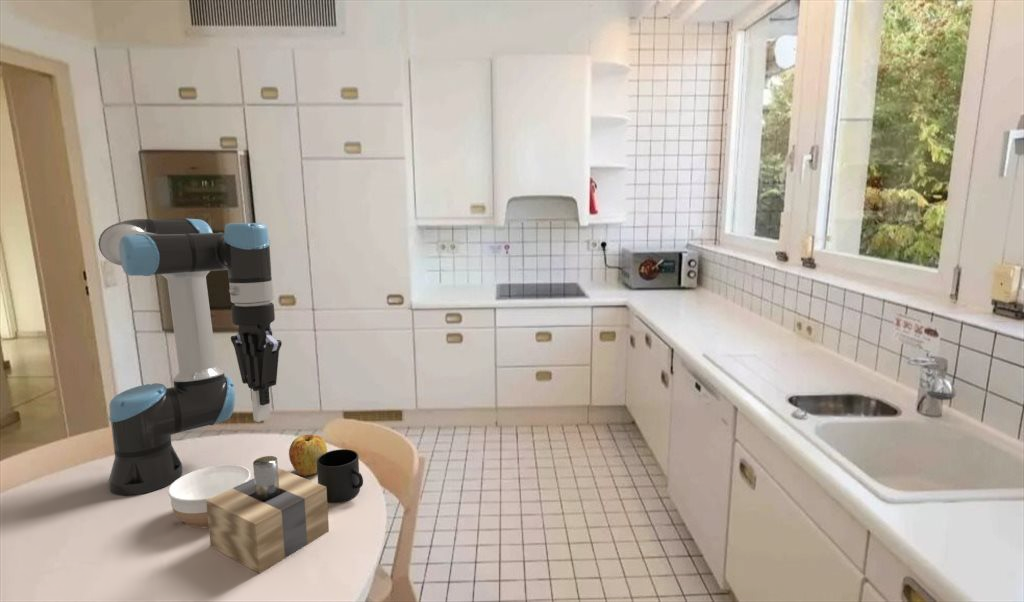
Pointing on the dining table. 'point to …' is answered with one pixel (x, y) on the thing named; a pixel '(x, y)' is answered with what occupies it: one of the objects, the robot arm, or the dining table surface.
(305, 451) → the apple
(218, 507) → the socket block
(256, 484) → the peg
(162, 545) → the dining table surface
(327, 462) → the mug
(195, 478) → the bowl
